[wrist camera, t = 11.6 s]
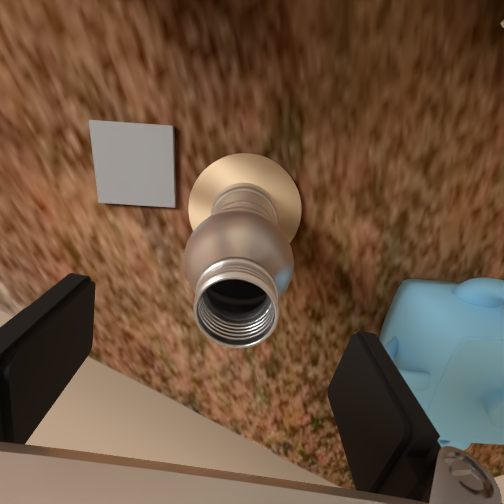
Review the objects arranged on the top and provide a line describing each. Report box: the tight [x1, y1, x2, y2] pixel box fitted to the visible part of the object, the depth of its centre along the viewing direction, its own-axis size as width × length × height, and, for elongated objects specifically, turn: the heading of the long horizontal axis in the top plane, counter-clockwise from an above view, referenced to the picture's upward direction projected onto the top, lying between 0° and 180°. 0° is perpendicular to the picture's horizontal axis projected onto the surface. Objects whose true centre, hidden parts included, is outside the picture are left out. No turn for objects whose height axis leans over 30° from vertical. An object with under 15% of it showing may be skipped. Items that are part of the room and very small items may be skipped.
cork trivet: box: [189, 153, 301, 244], centre depth 32 cm, size 12×12×1 cm
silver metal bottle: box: [184, 183, 294, 348], centre depth 22 cm, size 6×7×20 cm
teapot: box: [379, 278, 504, 450], centre depth 31 cm, size 18×16×14 cm
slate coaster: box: [89, 120, 176, 208], centre depth 30 cm, size 8×8×1 cm
